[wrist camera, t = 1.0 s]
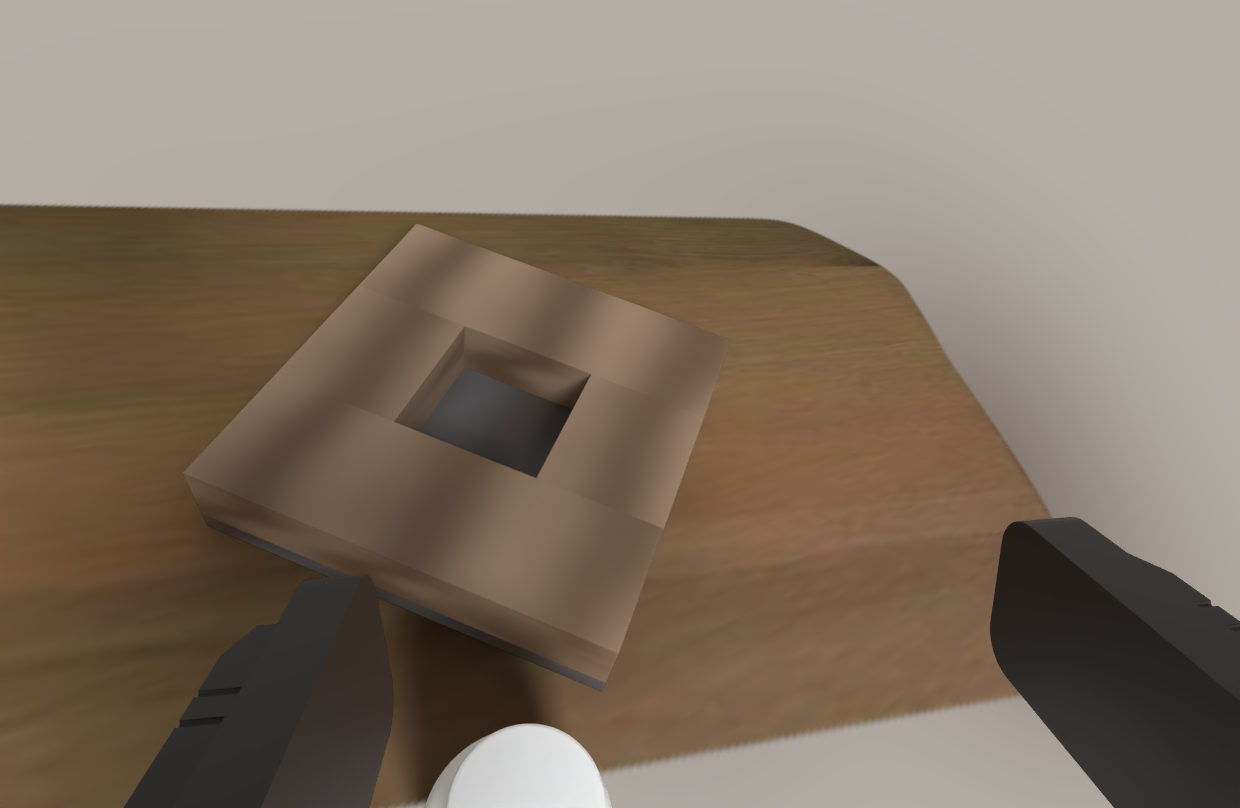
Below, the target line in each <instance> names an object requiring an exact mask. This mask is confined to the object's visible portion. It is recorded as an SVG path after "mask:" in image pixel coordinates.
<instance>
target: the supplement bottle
mask: <svg viewBox="0 0 1240 808" xmlns="http://www.w3.org/2000/svg"><path fill="white" fill-rule="evenodd" d="M425 808H612V806H611V802H610V798H609V794H608V792H607V789H606V787H605V785H604V782H603V781H602V778H601V776H600V773H599V771H598V769H597V767H596V765H595V763H594V761H593V760H592V758H591V757H590V755H589V754H588V752H587V751H586V750H585V749H584V748H583V747H582V746H581V745H580V744H579V743H578V742H577V741H576V740H575V739H573V738H572V737H571V736H569V735H568V734H566V733H564V732H562V731H560V730H559V729H556V728H554V727H550V726H546V725H541V724H518V725H513V726H509V727H506V728H503V729H500V730H498V731H496V732H494V733H492V734H490V735H488V736H486V737H483V738H481V739H479V740H477V741H476V742H474V743H473V744H471V745H469V746H468V747H467V748H465V749H464V750H463V751H461V752H460V753H459V754H458V755H457V756H456V757H455V758H454V759H453V760H452V761H451V762H450V763H449V764H448V765H447V767H446V768H445V769H444V770H443V772H442V773H441V775H440V776H439V778H438V779H437V781H436V783H435V784H434V786H433V788H432V790H431V792H430V794H429V797H428V799H427V802H426V805H425Z"/></svg>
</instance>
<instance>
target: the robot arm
mask: <svg viewBox="0 0 1240 808" xmlns="http://www.w3.org/2000/svg"><path fill="white" fill-rule="evenodd" d="M990 636H991V643H992V647H993V651H994V654H995V657H996V660H997V662H998V664H999V666H1000V668H1001V670H1002V672H1003V673H1004V674H1005V676H1006V677H1007V678H1008V680H1009V681H1010V682H1011V683H1012V685H1013V686H1014V687H1015V688H1016V689H1017V691H1018V692H1019V693H1020V694H1021V695H1022V697H1023V698H1024V699H1025V700H1026V701H1027V702H1028V704H1029V705H1030V706H1031V708H1032V709H1033V710H1034V711H1035V712H1036V714H1037V715H1038V716H1039V717H1040V718H1041V720H1042V721H1043V722H1044V723H1045V724H1046V726H1047V727H1048V728H1049V729H1050V730H1051V732H1052V733H1053V734H1054V735H1055V737H1056V738H1057V739H1058V740H1059V741H1060V743H1061V744H1062V745H1063V746H1064V748H1065V749H1066V750H1067V751H1068V752H1069V754H1070V755H1071V756H1072V757H1073V758H1074V760H1075V761H1076V762H1077V763H1078V764H1079V766H1080V767H1081V768H1082V769H1083V770H1084V772H1085V773H1086V774H1087V775H1088V776H1089V778H1090V779H1091V780H1092V781H1093V783H1094V784H1095V785H1096V786H1097V787H1098V789H1099V790H1100V791H1101V792H1102V794H1103V795H1104V796H1105V797H1106V798H1107V800H1108V801H1109V802H1110V803H1111V804H1112V806H1113V807H1114V808H1240V621H1239V620H1237V619H1236V618H1234V617H1233V616H1232V615H1230V614H1229V613H1227V612H1226V611H1225V610H1223V609H1222V608H1220V607H1219V606H1212V605H1211V601H1210V600H1209V599H1208V598H1206V597H1205V596H1204V595H1202V594H1200V593H1199V592H1198V591H1197V590H1195V589H1194V588H1192V587H1191V586H1190V585H1188V584H1187V583H1185V582H1184V581H1183V580H1181V579H1180V578H1178V577H1177V576H1176V575H1174V574H1173V573H1170V572H1168V571H1166V570H1164V569H1161V568H1160V567H1157V566H1155V565H1153V564H1151V563H1148V562H1146V561H1144V560H1142V559H1139V558H1137V557H1135V556H1133V555H1131V554H1128V553H1127V552H1125V551H1124V550H1123V549H1121V548H1119V547H1118V546H1117V545H1116V544H1114V543H1113V542H1112V541H1110V540H1109V539H1108V538H1106V537H1105V536H1104V535H1102V534H1101V533H1099V532H1098V531H1097V530H1095V529H1094V528H1093V527H1091V526H1090V525H1089V524H1087V523H1086V522H1084V521H1083V520H1081V519H1078V518H1075V517H1066V518H1053V519H1042V520H1030V521H1018V522H1013V523H1012V524H1010V525H1009V526H1008V527H1007V529H1006V530H1005V532H1004V535H1003V539H1002V545H1001V552H1000V559H999V566H998V573H997V580H996V587H995V594H994V601H993V608H992V615H991V623H990ZM392 717H393V682H392V675H391V669H390V664H389V658H388V653H387V648H386V642H385V637H384V631H383V626H382V621H381V615H380V610H379V604H378V599H377V594H376V589H375V586H374V583H373V580H372V578H371V577H370V576H369V575H366V574H365V575H353V576H341V577H330V578H318V579H306V580H304V581H303V582H301V584H300V585H299V587H298V588H297V590H296V592H295V594H294V595H293V597H292V599H291V601H290V602H289V604H288V606H287V608H286V610H285V611H284V613H283V615H282V617H281V618H280V620H279V622H278V624H272V625H260V626H256V627H255V628H254V629H253V630H252V631H250V632H249V633H248V634H247V635H246V636H244V637H243V638H242V639H241V640H240V641H238V642H237V643H236V644H235V645H234V646H232V647H231V648H230V649H229V650H227V651H226V652H225V653H224V654H223V655H221V656H220V658H219V660H218V661H217V663H216V664H215V666H214V667H213V669H212V670H211V672H210V674H209V675H208V677H207V678H206V680H205V681H204V683H203V685H202V686H201V688H200V689H199V696H198V697H197V698H194V699H193V700H192V702H191V703H190V705H189V706H188V708H187V710H186V711H185V713H184V714H183V716H182V717H181V719H180V726H179V728H174V730H173V731H172V733H171V735H170V736H169V738H168V739H167V741H166V742H165V744H164V745H163V747H162V749H161V750H160V752H159V753H158V755H157V756H156V758H155V760H154V761H153V763H152V764H151V766H150V767H149V769H148V770H147V772H146V774H145V775H144V777H143V778H142V780H141V781H140V783H139V784H138V786H137V788H136V789H135V791H134V792H133V794H132V795H131V797H130V799H129V800H128V802H127V803H126V805H125V806H124V808H369V806H370V803H371V799H372V796H373V792H374V788H375V785H376V781H377V778H378V774H379V770H380V767H381V763H382V759H383V756H384V752H385V749H386V745H387V741H388V738H389V734H390V730H391V724H392Z"/></svg>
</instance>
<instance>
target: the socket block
mask: <svg viewBox="0 0 1240 808" xmlns="http://www.w3.org/2000/svg"><path fill="white" fill-rule="evenodd" d="M731 342H732V340H730V339H728V338H725V337H722V336H719V335H717V334H714V333H711V332H709V331H706V330H703V329H700V328H698V327H695V326H692V325H690V324H687V323H684V322H682V321H679V320H676V319H673V318H671V317H668V316H665V315H663V314H660V313H657V312H654V311H652V310H649V309H646V308H644V307H641V306H638V305H636V304H633V303H630V302H627V301H625V300H622V299H619V298H617V297H614V296H611V295H609V294H606V293H603V292H600V291H598V290H595V289H592V288H590V287H587V286H584V285H581V284H579V283H576V282H573V281H571V280H568V279H565V278H563V277H560V276H557V275H554V274H552V273H549V272H546V271H544V270H541V269H538V268H535V267H533V266H530V265H527V264H525V263H522V262H519V261H517V260H514V259H511V258H508V257H506V256H503V255H500V254H498V253H495V252H492V251H489V250H487V249H484V248H481V247H479V246H476V245H473V244H471V243H468V242H465V241H462V240H460V239H457V238H454V237H452V236H449V235H446V234H444V233H441V232H438V231H435V230H433V229H430V228H427V227H425V226H422V225H419V224H416V225H415V226H414V227H413V228H412V229H411V230H410V231H409V232H408V234H407V235H406V236H405V237H404V238H403V239H402V240H401V241H400V242H399V243H398V244H397V245H396V246H395V247H394V248H393V250H392V251H391V252H390V253H389V254H388V255H387V256H386V257H385V258H384V259H383V260H382V261H381V262H380V263H379V264H378V265H377V267H376V268H375V269H374V270H373V271H372V272H371V273H370V274H369V275H368V276H367V277H366V278H365V279H364V280H363V281H362V282H361V284H360V285H359V286H358V287H357V288H356V289H355V290H354V291H353V292H352V293H351V294H350V295H349V296H348V297H347V298H346V300H345V301H344V302H343V303H342V304H341V305H340V306H339V307H338V308H337V309H336V310H335V311H334V312H333V313H332V314H331V315H330V317H329V318H328V319H327V320H326V321H325V322H324V323H323V324H322V325H321V326H320V327H319V328H318V329H317V330H316V331H315V333H314V334H313V335H312V336H311V337H310V338H309V339H308V340H307V341H306V342H305V343H304V344H303V345H302V346H301V347H300V348H299V350H298V351H297V352H296V353H295V354H294V355H293V356H292V357H291V358H290V359H289V360H288V361H287V362H286V363H285V364H284V365H283V367H282V368H281V369H280V370H279V371H278V372H277V373H276V374H275V375H274V376H273V377H272V378H271V379H270V380H269V381H268V383H267V384H266V385H265V386H264V387H263V388H262V389H261V390H260V391H259V392H258V393H257V394H256V395H255V396H254V397H253V398H252V400H251V401H250V402H249V403H248V404H247V405H246V406H245V407H244V408H243V409H242V410H241V411H240V412H239V413H238V414H237V416H236V417H235V418H234V419H233V420H232V421H231V422H230V423H229V424H228V425H227V426H226V427H225V428H224V429H223V430H222V431H221V433H220V434H219V435H218V436H217V437H216V438H215V439H214V440H213V441H212V442H211V443H210V444H209V445H208V446H207V447H206V448H205V450H204V451H203V452H202V453H201V454H200V455H199V456H198V457H197V458H196V459H195V460H194V461H193V462H192V463H191V464H190V466H189V467H188V468H187V469H186V470H185V471H184V472H183V474H184V477H185V479H186V481H187V483H188V485H189V487H190V489H191V491H192V494H193V496H194V498H195V500H196V502H197V504H198V506H199V509H200V511H201V513H202V515H203V517H204V519H205V521H206V524H207V526H209V527H211V528H213V529H216V530H218V531H221V532H223V533H225V534H228V535H230V536H232V537H235V538H237V539H240V540H242V541H244V542H247V543H249V544H252V545H254V546H256V547H259V548H261V549H263V550H266V551H268V552H271V553H273V554H275V555H278V556H280V557H282V558H285V559H287V560H290V561H292V562H294V563H297V564H299V565H301V566H304V567H306V568H309V569H311V570H313V571H316V572H318V573H321V574H323V575H325V576H328V577H341V576H353V575H365V574H366V575H369V576H370V577H371V578H372V580H373V583H374V586H375V589H376V594H377V597H378V598H380V599H382V600H385V601H387V602H390V603H392V604H394V605H397V606H399V607H401V608H404V609H406V610H409V611H411V612H413V613H416V614H418V615H420V616H423V617H425V618H428V619H430V620H432V621H435V622H437V623H440V624H442V625H444V626H447V627H449V628H451V629H454V630H456V631H459V632H461V633H463V634H466V635H468V636H470V637H473V638H475V639H478V640H480V641H482V642H485V643H487V644H490V645H492V646H494V647H497V648H499V649H501V650H504V651H506V652H509V653H511V654H513V655H516V656H518V657H520V658H523V659H525V660H528V661H530V662H532V663H535V664H537V665H539V666H542V667H544V668H547V669H549V670H551V671H554V672H556V673H559V674H561V675H563V676H566V677H568V678H570V679H573V680H575V681H578V682H580V683H582V684H585V685H587V686H589V687H592V688H594V689H597V690H599V691H601V692H602V690H603V688H604V685H605V683H606V681H607V679H608V676H609V674H610V672H611V670H612V667H613V665H614V663H615V660H616V658H617V656H618V654H619V651H620V648H621V645H622V643H623V640H624V637H625V634H626V632H627V629H628V626H629V623H630V621H631V618H632V615H633V612H634V609H635V607H636V604H637V601H638V598H639V596H640V593H641V590H642V587H643V585H644V582H645V579H646V576H647V574H648V571H649V568H650V565H651V563H652V560H653V557H654V554H655V551H656V549H657V546H658V543H659V540H660V538H661V535H662V532H663V529H664V527H665V524H666V521H667V518H668V516H669V513H670V510H671V507H672V505H673V502H674V499H675V496H676V493H677V491H678V488H679V485H680V482H681V480H682V477H683V474H684V471H685V469H686V466H687V463H688V460H689V458H690V455H691V452H692V449H693V447H694V444H695V441H696V438H697V435H698V433H699V430H700V427H701V424H702V422H703V419H704V416H705V413H706V411H707V408H708V405H709V402H710V400H711V397H712V394H713V391H714V389H715V386H716V383H717V380H718V377H719V375H720V372H721V369H722V366H723V364H724V361H725V358H726V355H727V353H728V350H729V347H730V344H731Z"/></svg>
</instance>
